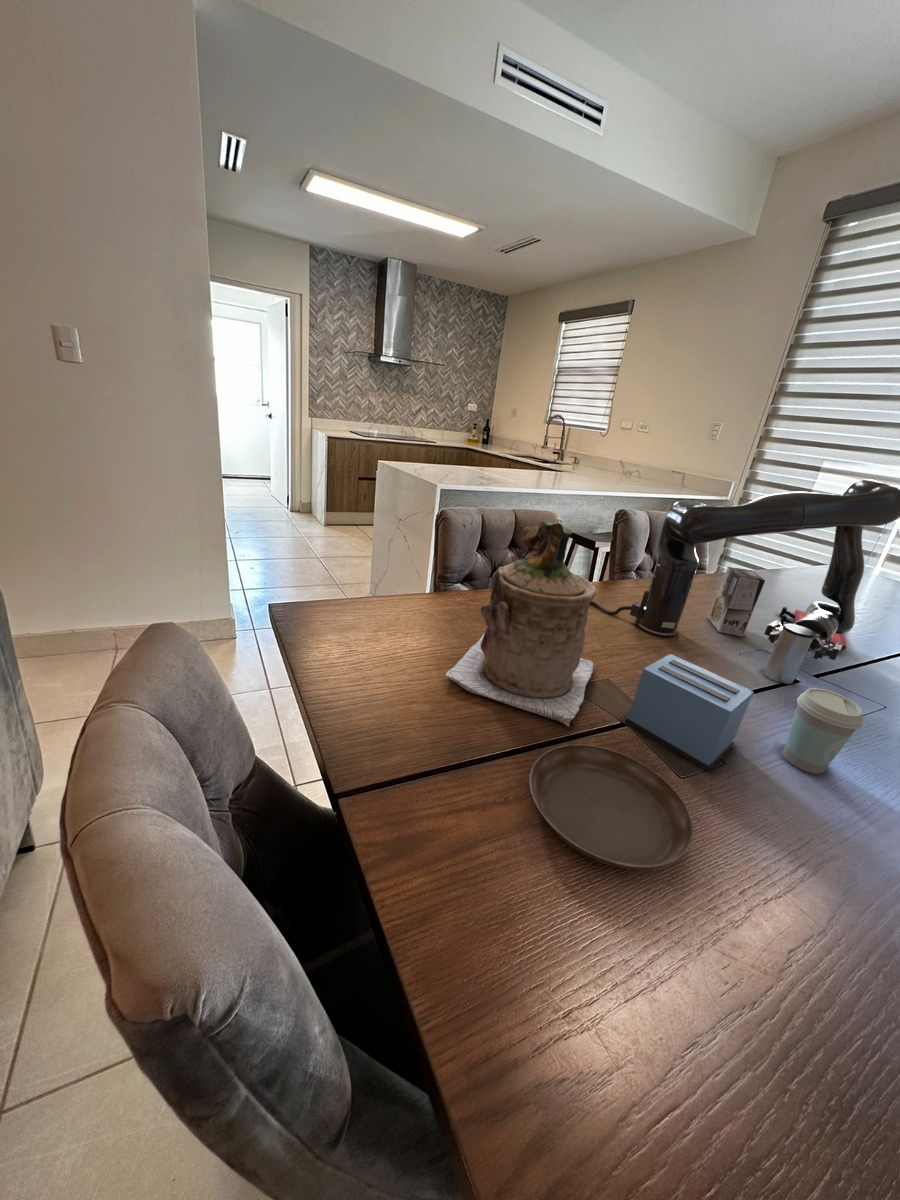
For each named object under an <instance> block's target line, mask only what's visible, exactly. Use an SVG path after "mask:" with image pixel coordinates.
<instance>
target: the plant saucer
mask: <svg viewBox="0 0 900 1200" xmlns="http://www.w3.org/2000/svg"><path fill="white" fill-rule="evenodd" d="M529 789H530V793H531V797H532V799H533V801H534V804H535V807H536V809H537V810H538V812H539V814H540V815H541V817H542V818H543V820H544V821H545V823H546V824H547V825H548V827H549V828H550V829H551V830H552V831H553V832H554V833H555V835H557V836H558V837H559V838H560V839H561V840H562V841H563V842H564V843H566V845H568V846H569V847H571V848H572V849H574V850H575V851H576V852H578V853H580V854H582V855H583V856H586V857H588V858H589V859H591V860H594V861H596V862H599V863H600V864H604V865H607V866H611V867H615V868H618V869H619V868H620V869H626V870H650V869H656V868H660V867H664V866H667V865H669V864H671V863H673V862H675V861H677V860H679V859H680V858H681V857H683V856H684V855H685V854H686V853H687V851H688V850H689V849H690V847H691V844H692V842H693V838H694V823H693V819H692V816H691V813H690V811H689V808H688V807H687V805H686V803H685V802H684V800H683V799H682V796H680V794H679V793H678V792H677V791H676V790H675V788H674V787H673V786H672V785H671V784H670V783H669V782H668V781H667V780H666V779H664V777H663V776H661V775H660V774H659V773H657V772H656V771H655V770H653V769H652V768H650V767H649V766H647V765H645V764H644V763H642V762H641V761H639V760H637V759H635V758H633V757H631V756H629V755H626V754H624V753H622V752H619V751H617V750H614V749H610V748H606V747H602V746H598V745H592V744H583V743H581V744H565V745H560V746H556V747H553V748H551V749H549V750H547V751H545V752H543V753H542V754H541V755H540V756H539V757H538V758H537V759H536V760H535V762H534V763H533V764H532V767H531V770H530V773H529Z"/></svg>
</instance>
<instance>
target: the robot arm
mask: <svg viewBox="0 0 900 1200" xmlns="http://www.w3.org/2000/svg"><path fill="white" fill-rule="evenodd" d="M898 519H900V488H898V487H897V486H894V485H891V484H887V483H883V482H880V481H877V480H874V479H860V480H857V481H855V482H853V483H851V484H850V485H849V486H847V488H846V489H845V490H844V491H843V493H842V494H830V493H820V492H811V491H810V492H808V491H792V492H781V493H773V494H772V493H771V494H767V495H764V496H760V497H758V498H755V499H754V500H752V501H751V500H750V501H749V502H747V503H744V504H743V503H742V504H739V505H738V504H737V505H726V506H725V505H724V506H723V505H722V506H721V505H720V506H717V505H714V506H713V505H707V504H704V503H701V502H699V501H696V500H693V499H682V500H679V501H676V502H675V503H673V505H672V506H671V507H670V508H669V509H668V511H667V513H666V515H665V517H664V520H663V524H662V528H661V532H660V536H659V540H658V544H657V559H656V563H655V566H654V570H653V573H652V576H651V578H650V579H651V580H650V583H649V586H648V589H646V590H644V592H643V594H642V598H641V601H637V602H634V603H633V604H632V605H624V606H620V607H619V606H618V608H617V609H616V610H614V611H611V610H606V609H605V608H603V607H602V606H601V605H600V604H599V603H597V602H596V601H594V600H592V601H591V602H590V603H589V605H592V606H594V607H595V608H596V609H598V610H599V611H601V612H602V613H605V614H606V615H610V616H616V615H618V614H619V613H620V612H621V611H626V610H628V611H630V612H629V616H632V617H634V618H636V619H635V622H634V624H635V625H637V626H638V627H639V628H640V629H642V630H643V631H645V632H648V633H650V634H652V635H656V636H661V637H674V636H675V635H676V634H677V631H678V628H679V624H680V621H681V619H682V615H683V613H684V609H685V607H686V604H687V600H688V598H689V594H690V591H691V589H692V585H693V582H694V579H695V576H696V573H697V570H698V567H699V563H700V559H699V556H698V555H697V551H696V545H699V544H700V545H701V544H706V543H710V542H711V543H712V542H717V541H722V540H726V539H730V538H736V537H744V536H745V537H748V536H762V535H773V534H774V535H775V534H786V533H795V532H802V531H810V530H811V531H812V530H820V529H829V528H835V532H834V539H833V547H832V553H831V557H830V562H829V564H828V565H829V566H828V569H827V571H826V575H825V578H824V580H823V583H822V586H821V591H820V593H821V594H822V596H823V597H825V598H827V599H828V600H831V601H832V602H834V603H836V604H837V605H836V604H835V605H834V604H831V603H828V602H825V601H824V602H823V601H813V602H812V603H809V605H808V606H807V608H806V609H805V611H804V612H805V615H804V617H803V618H801V619H800V620H798V621H797V622H796V623H794V624H796V625H800V626H803V627H806V628H808V629H810V630H812V631H813V632H815V634H816V635H815V637H814V638H813V640H812V642H811V645H810V647H809V649H808V651H811V653H813V657H812V659H813V660H816V661H817V660H818V659H819V660H822V659H824V658H826V657H828V659H830V660H831V661H836V660H837V658H838V656H839V653H840V652H841V651H842V649H841V648H842V646H843V644H842V643H840V642H837V643H833V644H832V643H829V641H830V640H831V639H832V637H833V635H834V634H835V633H836V634H843V635H845V634H848V633H849V632H850V631H851V630H852V629H853V628H854V626H855V621H856V611H855V602H856V601H855V600H856V596H857V593H858V590H859V587H860V584H861V583H862V579H863V576H864V574H865V573H864V572H865V556H864V551H863V531H864V527H880V526H884V525H889V524H891V523H893V522H895V521H897V520H898ZM783 626H784V625H783ZM783 626H782V624H781V622H780V620H774V621H772V622H770V623H768V624H767V625H766V628H765V631H764V634H763V635H765V636H768V637H767V640H769V643H772V644H774V643H775V642H777V641H778V639H779V636H780V634H781V632H782V629H783Z"/></svg>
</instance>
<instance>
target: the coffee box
mask: <svg viewBox="0 0 900 1200" xmlns="http://www.w3.org/2000/svg"><path fill="white" fill-rule="evenodd" d="M765 582H766V579H765V578H763V577H761V575H759V574H757V572H755V571H754V570H753V569H747V568H740V567H732V566H727V568H726V571H725V573H724V576H723V579H722V582H721V584H720V587H719V590H718V593H717V596H716V598H715V602H714V605H713V607H712V611H711V613H710V616H709V619H708V620H709V622H710V623H711V624H712V625H713V626H714V628H715V629H716V630H717V631H718V633H722V634H726V635H731V636H737V637H743V636H744V635H745V632H746V630H747V627H748V625H749V622H750V620H751V617H752V614H753V612H754V610H755V607H756V605H757V602H758V599H759V596H760V595H761V592H762V591H763V587H764V585H765Z"/></svg>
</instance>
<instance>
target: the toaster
mask: <svg viewBox="0 0 900 1200" xmlns="http://www.w3.org/2000/svg"><path fill="white" fill-rule="evenodd" d="M754 694H755V692H754V691H753V690H752V689H749V688H746V687H745V686H743V685H740V684H738V683H736V682H733V681H731V680H729V679H727V678H724V677H722V676H720V675H718V674H716V673H714V672H711V671H710V670H707V669H705V668H703V667H701V666H698V665H696V664H694V663H692V662H690V661H687V660H685V659H683V658H681V657H679V656H676V655H675V654H673V653H669V654H667V655H665V656H663V657H662V658H660V659H658V660H656V661H655V662H652V663H651V664H649V665H647V666H645V667H643V668H642V672H641V675H640V678H639V681H638V684H637V688H636V690H635V694H634V697H633V700H632V704H631V707H630V709H629V714H628V716H627V717H626V718H625V720H624V722H625V723H627V724H628V725H630V726H631V727H633V728H635V729H636V730H638V731H640V732H641V733H643V734H645V735H647V736H648V737H650V738H651V739H654V741H657V742H658V743H660V744H661V745H663V746H665V747H666V748H669V749H670V750H672V751H673V752H674V753H677V754H678V755H680V756H682V757H684V758H685V759H687V760H689V761H690V762H692V763H694V764H695V765H697V766H698V767H700V768H702V769H704V770H705V771H707V772H708V771H709V770H710V769H711V768H712V767H714V765H715V764H716V763H717V762H718V761H720V759H721V758H722V757H723V756H724V755H725V754H727V752H728V751H729V750H730V749H731V748H733V746H734V744H735V742H734V739H735V737H736V735H737V733H738V730H739V728H740V726H741V723H742V721H743V718H744V716H745V714H746V712H747V710H748V707H749V705H750V703H751V700H752V698H753V695H754Z"/></svg>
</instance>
